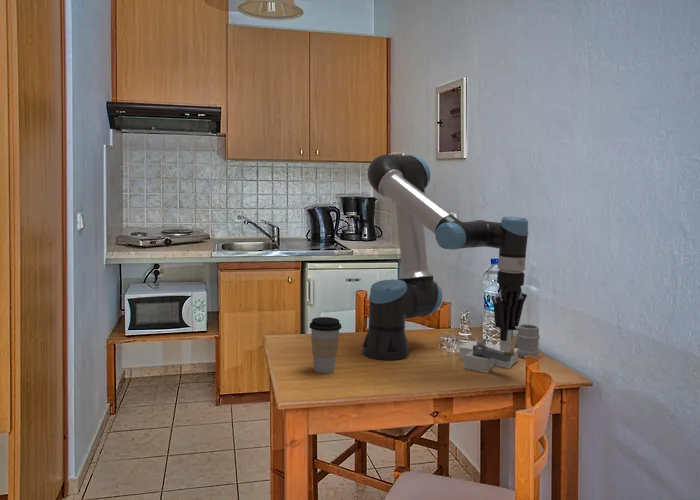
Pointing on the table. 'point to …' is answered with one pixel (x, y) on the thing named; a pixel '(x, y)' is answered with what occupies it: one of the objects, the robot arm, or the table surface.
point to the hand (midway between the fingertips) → (505, 351)
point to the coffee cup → (324, 343)
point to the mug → (527, 340)
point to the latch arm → (494, 352)
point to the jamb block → (478, 361)
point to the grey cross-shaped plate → (469, 347)
